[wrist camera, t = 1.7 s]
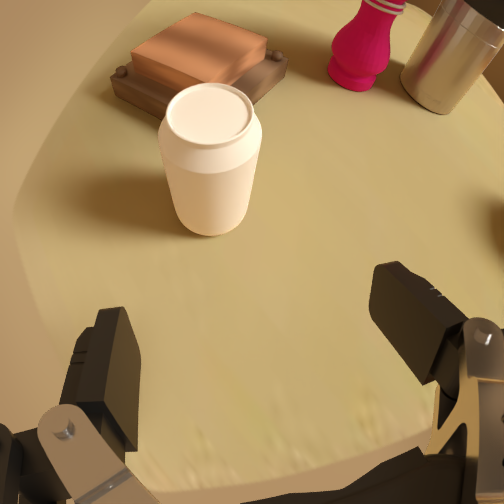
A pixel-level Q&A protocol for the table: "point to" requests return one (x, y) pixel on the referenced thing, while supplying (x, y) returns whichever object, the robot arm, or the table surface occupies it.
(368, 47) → the pepper mill
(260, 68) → the brick plinth
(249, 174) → the beverage can
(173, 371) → the table surface
